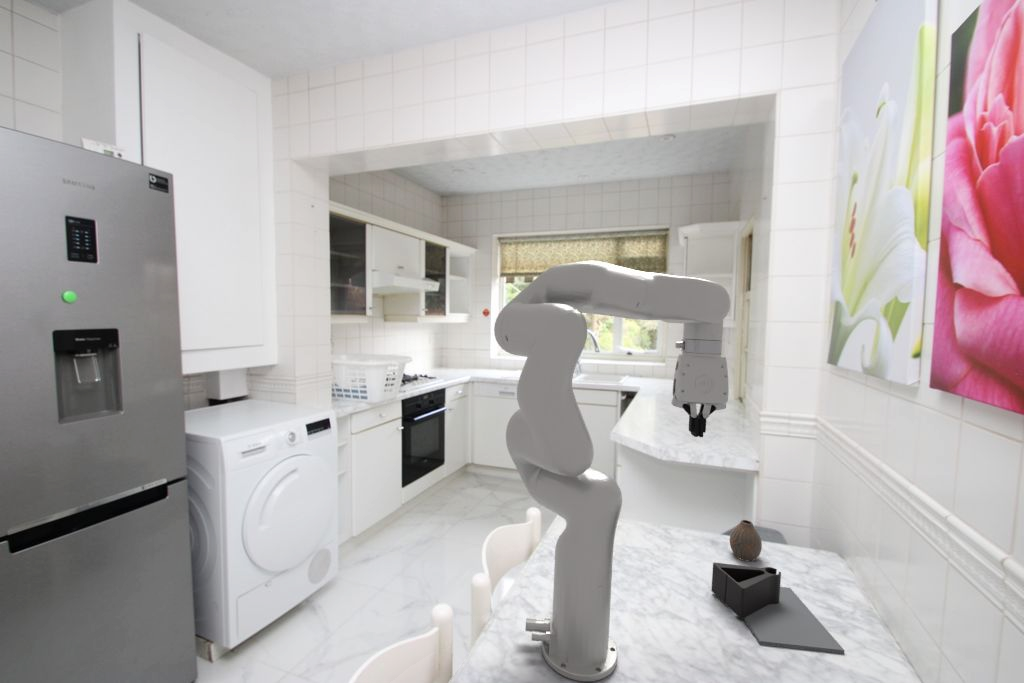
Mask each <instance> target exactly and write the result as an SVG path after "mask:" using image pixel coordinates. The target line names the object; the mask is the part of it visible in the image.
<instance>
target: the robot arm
mask: <svg viewBox="0 0 1024 683" xmlns="http://www.w3.org/2000/svg"><path fill="white" fill-rule="evenodd" d="M730 309H731V298H730V294H729V292H728V291H727V289H726V288H725V287H724V286H723V285H722V284H720V283H718V282H716V281H712V280H708V279H703V278H699V277H691V276H690V277H689V276H680V275H671V274H667V273H666V274H664V273H657V272H647V271H641V270H636V269H633V268H628V267H624V266H620V265H615V264H612V263H609V262H605V261H604V262H603V261H599V260H583V261H577V262H569V263H561V264H555V265H553V266H551V267H549V268H548V269H545V271H543V272H542V273H541V274H540V275H538V276H537V277H536V278H535V279H533V280H532V281H531V282H530V283H529V284H528V285H526V287H525V288H524V289H522V290H521V291H520V292H519V293H518V294H517V295H515V297H513V298H512V299H511V300H510V301H509V302H508V303H507V304H506V305H505V306H503V308H502V309H501V310H500V312H499V313H498V315H497V317H496V319H495V323H494V328H493V330H494V337H495V340H496V343H497V344H498V346H499V347H500V348H501V349H502V350H503V351H504V352H506V353H508V354H511V355H513V356H518V357H525V358H526V357H527V358H526V360H525V363H524V365H523V368H522V370H521V373H520V375H519V378H518V381H517V382H518V383H517V386H516V400H517V404H518V407H519V409H518V410H516V411H515V412H514V413H513V414H512V416H510V418H509V420H508V422H507V425H506V430H505V444H506V448H507V451H508V453H509V455H510V458H511V459H512V462H513V464H514V466H515V468H516V470H517V473H518V475H519V477H520V479H521V480H522V482H523V484H524V487H525V489H526V491H527V492H528V494H529V495H530V496H531V498H532V499H533V500H534V501H535V502H536V503H537V504H539V505H540V506H542V507H544V508H545V509H547V510H549V511H551V512H553V513H555V514H556V515H557V516H559V517H561V518H562V519H563V520H564V521H565V523H566V525H565V528H564V529H563V531H562V532H561V534H560V535H559V536H558V538H557V540H556V543H555V547H554V548H555V550H554V569H553V571H554V572H553V593H552V595H553V596H552V611H550V616H549V617H550V618H544V620H543V619H542V620H541V619H537V618H530V617H529V618H525V632H531V641H532V642H541V651H542V655H543V657H544V660H545V661H546V663H547V664H548V665H549V666H550V667H551V669H553V670H554V671H555V672H557V673H558V674H560V675H561V676H563V677H565V678H567V679H570V680H574V681H579V682H586V683H587V682H596V681H600V680H603V679H605V678H606V677H608V676H610V675H611V674H612V673H613V671H615V669H616V667H617V663H618V648H617V645H616V643H615V641H614V640H613V638H612V637H611V636H610V618H611V616H610V615H611V601H612V599H611V598H612V597H611V596H612V578H613V577H612V576H613V559H614V544H615V538H616V530H617V527H618V523H619V518H620V515H621V511H622V505H623V494H622V491H621V488H620V486H619V484H618V483H617V481H616V480H615V479H614V478H613V477H612V476H611V475H608V474H607V473H606V472H604V471H603V470H600V469H598V468H596V467H593V466H592V463H593V461H594V453H595V452H594V445H593V441H592V438H591V435H590V433H589V430H588V426H587V425H586V422H585V419H584V417H583V415H582V412H581V410H580V407H579V405H578V402H577V399H576V395H575V392H574V390H573V389H574V388H573V379H574V378H573V376H574V373H575V370H576V366H577V364H578V361H579V359H580V357H581V355H582V352H583V350H584V349H585V345H586V343H587V338H588V326H587V325H588V324H587V320H586V317H585V315H584V314H589V315H590V314H593V315H600V316H608V317H615V318H623V319H629V320H642V321H662V322H665V323H669V324H670V323H671V324H683V331H682V332H683V336H682V339H681V341H675V348H676V349H680V350H681V353H678V356H677V360H676V364H675V369H674V376H673V383H672V399H671V405H672V406H673V407H675V408H676V407H677V408H680V409H683V410H684V411H685V412H686V413H687V415H688V432H690V434H691V435H692V437H695V438H697V437H699V438H703V437H704V434H705V433H706V431H707V419H708V418H709V417H710V415H712V414H713V413H714V412H716V411H720V410H725V409H726V408H727V403H728V400H729V370H728V362H727V357H726V356H725V355H724V356H723V355H722V353H723V352H722V350H723V348H722V346H723V335H724V334H723V333H724V320H725V318H727V316H728V314H729V312H730ZM697 404H698V405H699V409H698V410H697Z"/></svg>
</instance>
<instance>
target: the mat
mask: <svg viewBox="0 0 1024 683" xmlns="http://www.w3.org/2000/svg"><path fill="white" fill-rule="evenodd" d="M742 620H744V622H745V623H746V625H747V627H748V629H749V630H750V632H751V633H752V635H753V637H754V638H755V640H756V641H757V643H758V644H759V645H763V646H773V647H780V648H781V647H782V648H790V649H799V650H808V651H818V652H827V653H836V654H845V649H844V648H843V647H842V646H841V644H840V643H839V642H838V641H837V640H836V639H835V637H833V635H832V634H831V633H830V632H829V631H828V630H827V628H826V627H825V626H824V625H823V624H822V623H821V622H820V621H819V619H818V618H817V616H815V615H814V614H813V612H812V611H811V610H810V609H809V608H808V607H807V605H806V604H805V603H804V602H803V601H802V600H801V599H800V597H799V596H798V595H797V593H795V592H794V591H793V590H792V588H791V587H787V586H786V587H784V586H780V597H779V603H778V604H769V605H767V606H765V607H763V608H762V609H760V610H758V611H756V612H754V613H752V614H751V615H749V616H747V617H745V618H743V619H742Z"/></svg>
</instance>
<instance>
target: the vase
mask: <svg viewBox="0 0 1024 683" xmlns="http://www.w3.org/2000/svg"><path fill="white" fill-rule="evenodd" d="M729 545H730V548H731V551H732V552H733V554H734V555H735V556H736V557H737V558H738V557H739V558H738V559H740V558H741V559H740V560H742V559H743V561H745V560H747V561H746V562H753V561H755V560H756V559H758V558H759V556H760V555H761V552H762V549H763V548H762V547H763V545H762V538H761V535H760V534H759V532H758V531H757V529H756V528H755V526H754V524H753V522H752V521H751V520H748V519H742V520H741V521H739V523H738V524H737V525H736V526H735V527H733V529H732V530H731V532H730V535H729ZM752 560H753V561H752Z"/></svg>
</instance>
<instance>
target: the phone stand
mask: <svg viewBox="0 0 1024 683" xmlns="http://www.w3.org/2000/svg"><path fill="white" fill-rule="evenodd" d="M777 570H778V569H777V568H774V567H771V566H765V567H757V566H748V565H742V564H741V565H739V564H730V563H721V562H713V563H712V576H711V592H712V593H713V594H714V595H715V596H716V597H717V598H718V599H720V601H721V602H722V603H724V604H725V605H726V606H727V607H728V608H729V609H730V611H732V612H733V613H734V614H735V615H736V616H737V618H739V619H741V620H744V619H743V618H745V617H747V616H749V615H751V614H752V613H754V612H756V611H758V610H760V609H762V608H763V607H765V606H767V605H769V604H778V603H779V597H780V587H781V579H782V572H781V571H778V573H777Z"/></svg>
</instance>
